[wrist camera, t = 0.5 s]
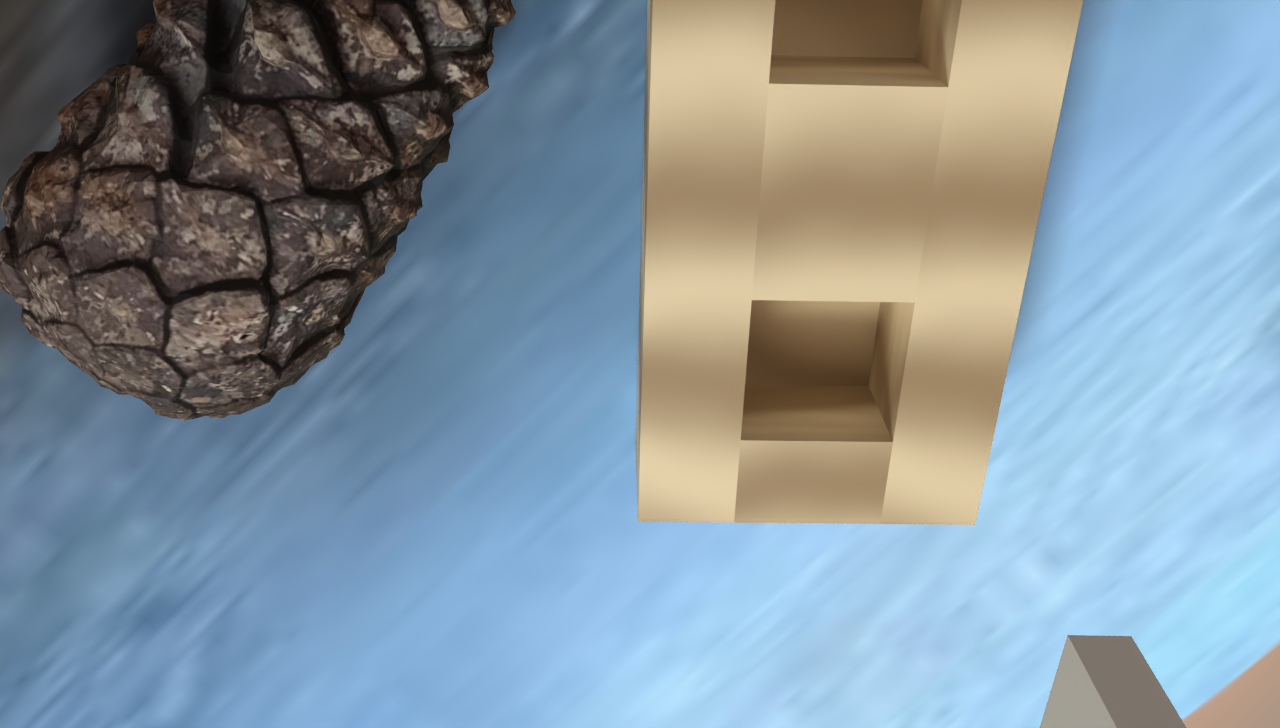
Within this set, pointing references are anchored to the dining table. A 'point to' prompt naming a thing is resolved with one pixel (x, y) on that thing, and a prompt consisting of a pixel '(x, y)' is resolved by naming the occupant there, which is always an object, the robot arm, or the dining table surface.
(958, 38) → the hole block
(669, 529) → the dining table surface
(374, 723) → the dining table surface
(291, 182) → the pine cone
